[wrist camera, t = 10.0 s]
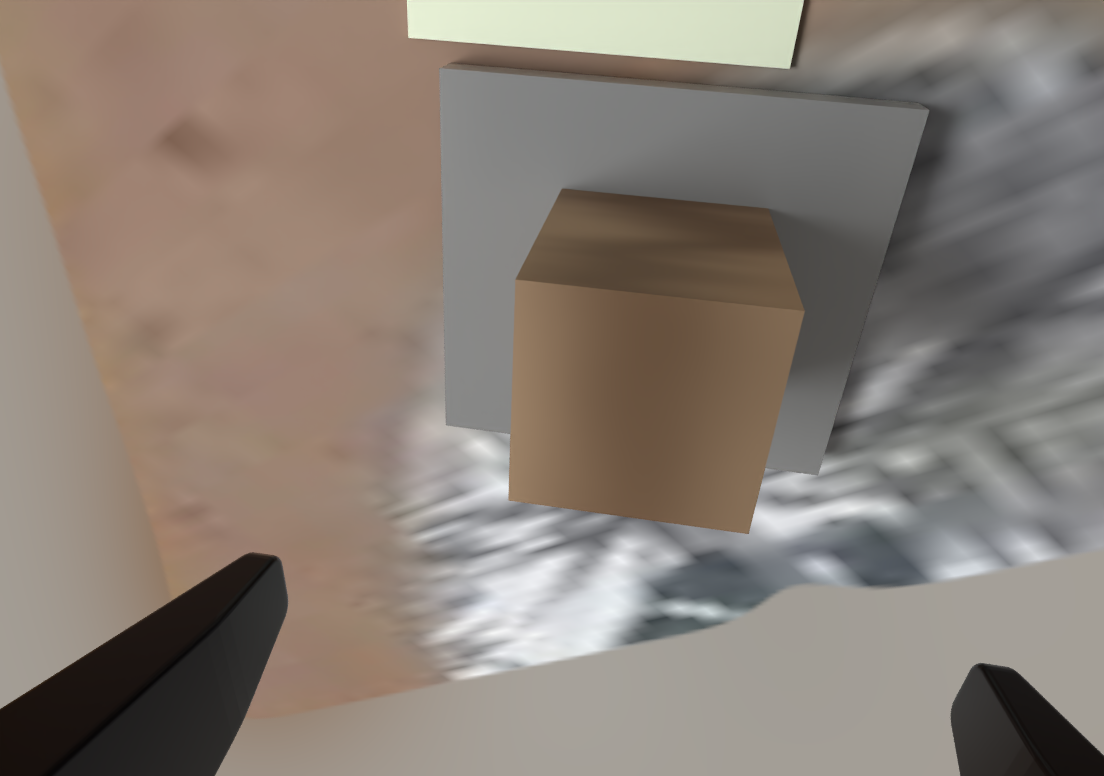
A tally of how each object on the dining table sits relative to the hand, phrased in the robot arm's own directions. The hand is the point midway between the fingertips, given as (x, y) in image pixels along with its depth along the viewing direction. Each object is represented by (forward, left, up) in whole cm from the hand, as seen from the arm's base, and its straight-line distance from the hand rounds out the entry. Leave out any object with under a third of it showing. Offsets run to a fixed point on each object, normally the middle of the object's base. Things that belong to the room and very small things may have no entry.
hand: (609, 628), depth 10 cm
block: (0, 0, -11) cm, 11 cm away
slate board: (0, 0, -12) cm, 12 cm away
